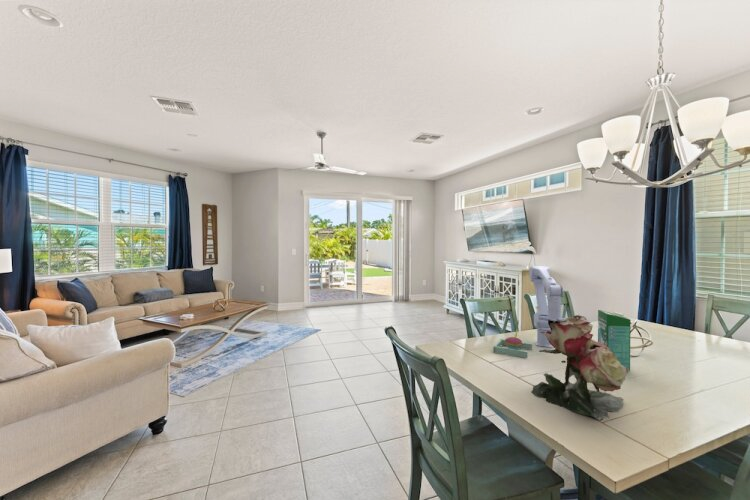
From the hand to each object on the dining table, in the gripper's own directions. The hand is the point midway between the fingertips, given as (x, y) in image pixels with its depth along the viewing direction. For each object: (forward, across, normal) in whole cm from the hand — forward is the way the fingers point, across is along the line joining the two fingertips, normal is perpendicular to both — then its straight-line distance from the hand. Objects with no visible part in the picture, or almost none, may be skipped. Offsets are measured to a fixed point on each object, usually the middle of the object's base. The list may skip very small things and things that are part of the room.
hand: (554, 335), depth 165 cm
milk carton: (+10, +24, -4) cm, 26 cm away
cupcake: (+10, -18, -5) cm, 21 cm away
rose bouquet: (+10, +13, -46) cm, 49 cm away
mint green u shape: (+9, -18, -5) cm, 21 cm away
